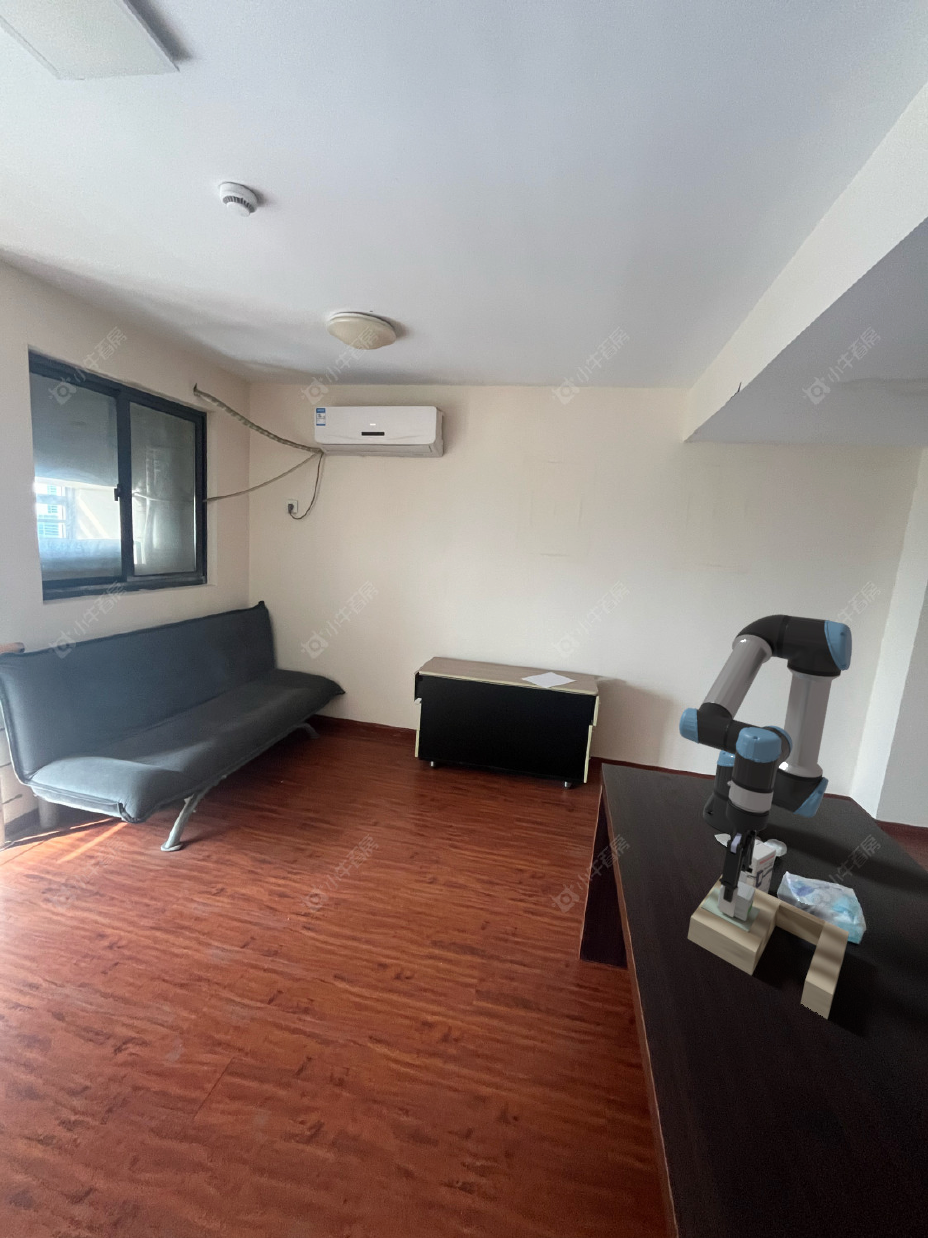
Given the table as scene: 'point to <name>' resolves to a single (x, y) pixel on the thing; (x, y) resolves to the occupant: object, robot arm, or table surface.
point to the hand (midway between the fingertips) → (731, 905)
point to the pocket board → (750, 937)
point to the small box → (742, 900)
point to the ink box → (761, 866)
